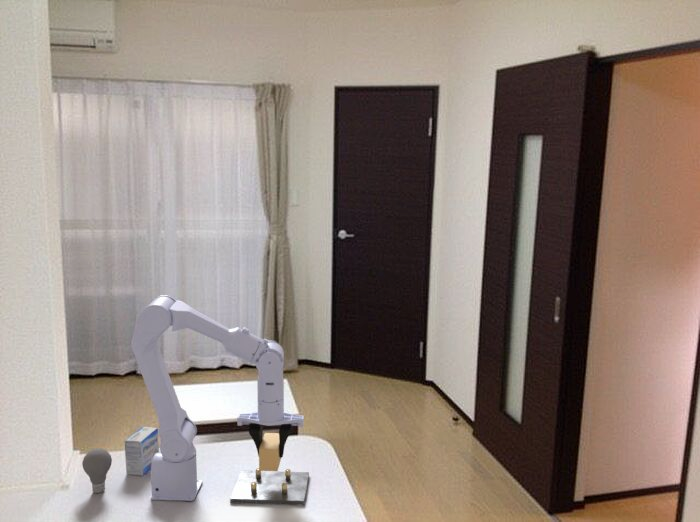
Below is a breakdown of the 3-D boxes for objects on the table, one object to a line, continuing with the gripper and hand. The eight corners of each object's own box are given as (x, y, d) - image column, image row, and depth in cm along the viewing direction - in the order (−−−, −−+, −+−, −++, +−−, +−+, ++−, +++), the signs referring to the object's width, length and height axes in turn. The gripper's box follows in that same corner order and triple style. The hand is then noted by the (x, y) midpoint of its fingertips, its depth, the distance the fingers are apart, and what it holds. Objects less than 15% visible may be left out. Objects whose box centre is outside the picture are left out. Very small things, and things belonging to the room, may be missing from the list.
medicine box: (143, 477, 145) (141, 442, 143) (125, 474, 145) (123, 440, 144) (159, 460, 152) (158, 427, 151) (143, 458, 153) (141, 425, 152)
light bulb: (106, 481, 142) (104, 440, 140) (117, 491, 138) (115, 450, 136) (79, 491, 138) (77, 449, 136) (90, 502, 134) (88, 459, 132)
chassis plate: (230, 502, 134) (230, 490, 134) (241, 474, 146) (241, 462, 146) (303, 505, 134) (304, 492, 134) (308, 476, 146) (309, 464, 145)
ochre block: (259, 470, 135) (259, 449, 134) (265, 453, 143) (264, 432, 142) (277, 471, 135) (277, 449, 134) (282, 453, 143) (282, 433, 142)
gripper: (305, 391, 140) (305, 447, 143) (241, 389, 140) (242, 445, 143) (302, 404, 133) (302, 462, 136) (234, 402, 134) (235, 460, 136)
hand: (271, 455), depth 139 cm, fingers closed on ochre block, 4 cm apart
